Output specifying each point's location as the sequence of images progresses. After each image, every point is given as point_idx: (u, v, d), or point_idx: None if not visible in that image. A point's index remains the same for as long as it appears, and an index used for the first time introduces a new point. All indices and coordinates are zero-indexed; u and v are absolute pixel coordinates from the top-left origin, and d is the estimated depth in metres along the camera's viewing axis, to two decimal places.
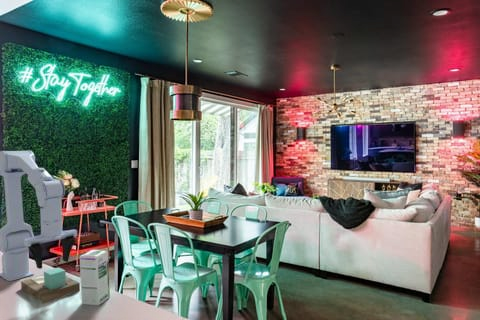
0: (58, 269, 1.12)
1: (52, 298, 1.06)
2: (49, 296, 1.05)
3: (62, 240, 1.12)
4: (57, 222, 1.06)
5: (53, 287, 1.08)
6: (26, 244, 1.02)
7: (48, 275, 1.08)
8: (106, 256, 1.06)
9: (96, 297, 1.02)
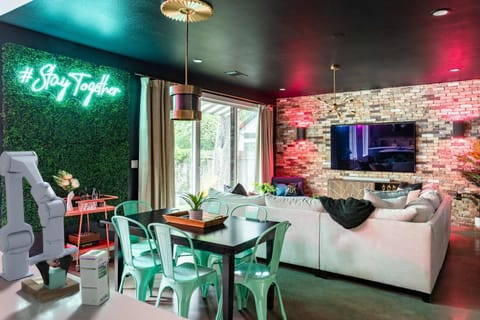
0: (58, 269, 1.12)
1: (52, 298, 1.06)
2: (49, 296, 1.05)
3: (60, 259, 1.13)
4: (59, 241, 1.08)
5: (53, 287, 1.08)
6: (29, 263, 1.04)
7: None
8: (106, 256, 1.06)
9: (96, 297, 1.02)
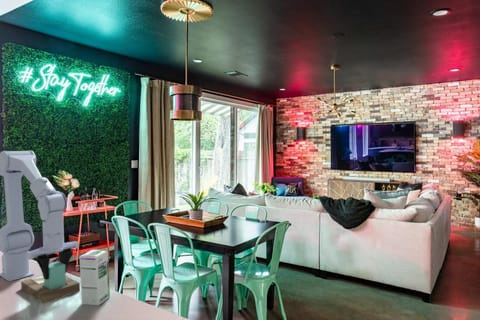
0: (58, 263, 1.11)
1: (52, 298, 1.06)
2: (49, 296, 1.05)
3: (60, 253, 1.13)
4: (59, 235, 1.08)
5: (53, 281, 1.08)
6: (29, 257, 1.04)
7: None
8: (106, 256, 1.06)
9: (96, 297, 1.02)
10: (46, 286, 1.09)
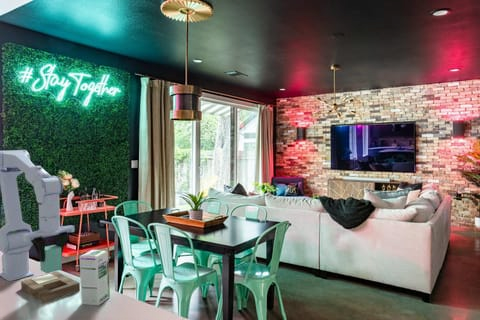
0: (54, 246, 1.13)
1: (52, 298, 1.06)
2: (49, 296, 1.05)
3: (56, 236, 1.14)
4: (55, 218, 1.10)
5: (49, 263, 1.09)
6: (25, 239, 1.05)
7: None
8: (106, 256, 1.06)
9: (96, 297, 1.02)
10: (42, 269, 1.11)
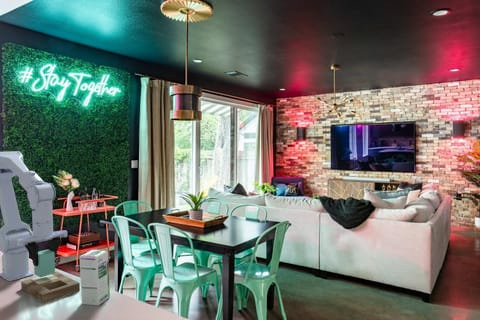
0: (47, 251, 1.16)
1: (52, 298, 1.06)
2: (49, 296, 1.05)
3: (49, 241, 1.17)
4: (48, 223, 1.13)
5: (42, 267, 1.12)
6: (18, 244, 1.09)
7: None
8: (106, 256, 1.06)
9: (96, 297, 1.02)
10: (36, 273, 1.14)
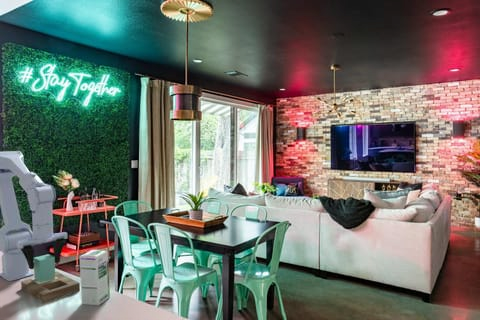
0: (47, 256, 1.16)
1: (52, 298, 1.06)
2: (49, 296, 1.05)
3: (53, 242, 1.18)
4: (48, 225, 1.13)
5: (42, 272, 1.12)
6: (19, 246, 1.09)
7: (38, 261, 1.12)
8: (106, 256, 1.06)
9: (96, 297, 1.02)
10: (36, 278, 1.14)
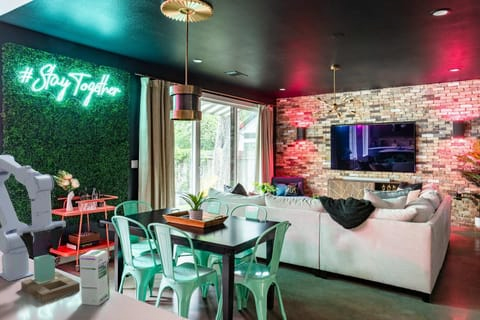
0: (47, 256, 1.16)
1: (52, 298, 1.06)
2: (49, 296, 1.05)
3: (52, 230, 1.21)
4: (46, 213, 1.16)
5: (42, 272, 1.12)
6: (18, 233, 1.11)
7: (38, 261, 1.12)
8: (106, 256, 1.06)
9: (96, 297, 1.02)
10: (36, 278, 1.14)
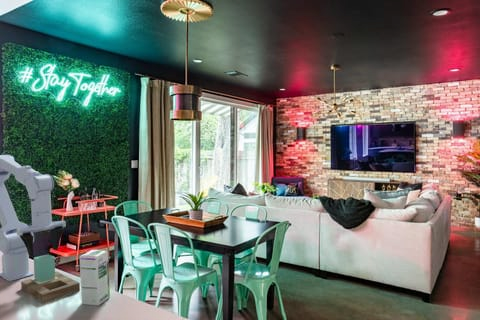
0: (47, 256, 1.16)
1: (52, 298, 1.06)
2: (49, 296, 1.05)
3: (52, 230, 1.21)
4: (46, 213, 1.16)
5: (42, 272, 1.12)
6: (18, 233, 1.11)
7: (38, 261, 1.12)
8: (106, 256, 1.06)
9: (96, 297, 1.02)
10: (36, 278, 1.14)
